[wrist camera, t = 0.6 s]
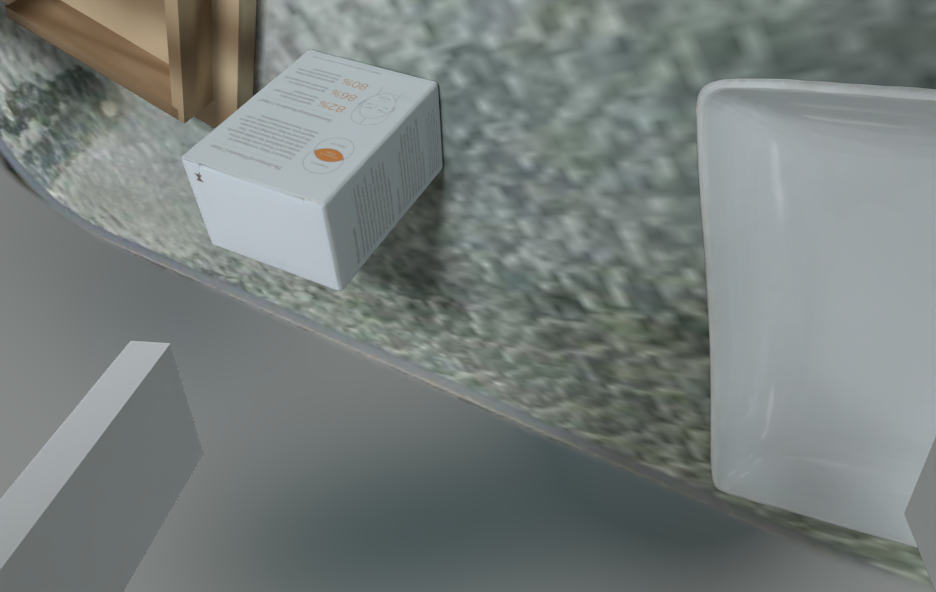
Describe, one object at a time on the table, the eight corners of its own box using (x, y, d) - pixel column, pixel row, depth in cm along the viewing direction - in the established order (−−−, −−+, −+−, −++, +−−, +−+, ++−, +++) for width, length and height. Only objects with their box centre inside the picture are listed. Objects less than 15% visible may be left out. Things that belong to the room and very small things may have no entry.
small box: (325, 132, 46) (208, 245, 39) (309, 44, 42) (174, 156, 35) (446, 169, 43) (341, 297, 37) (441, 80, 39) (322, 207, 33)
